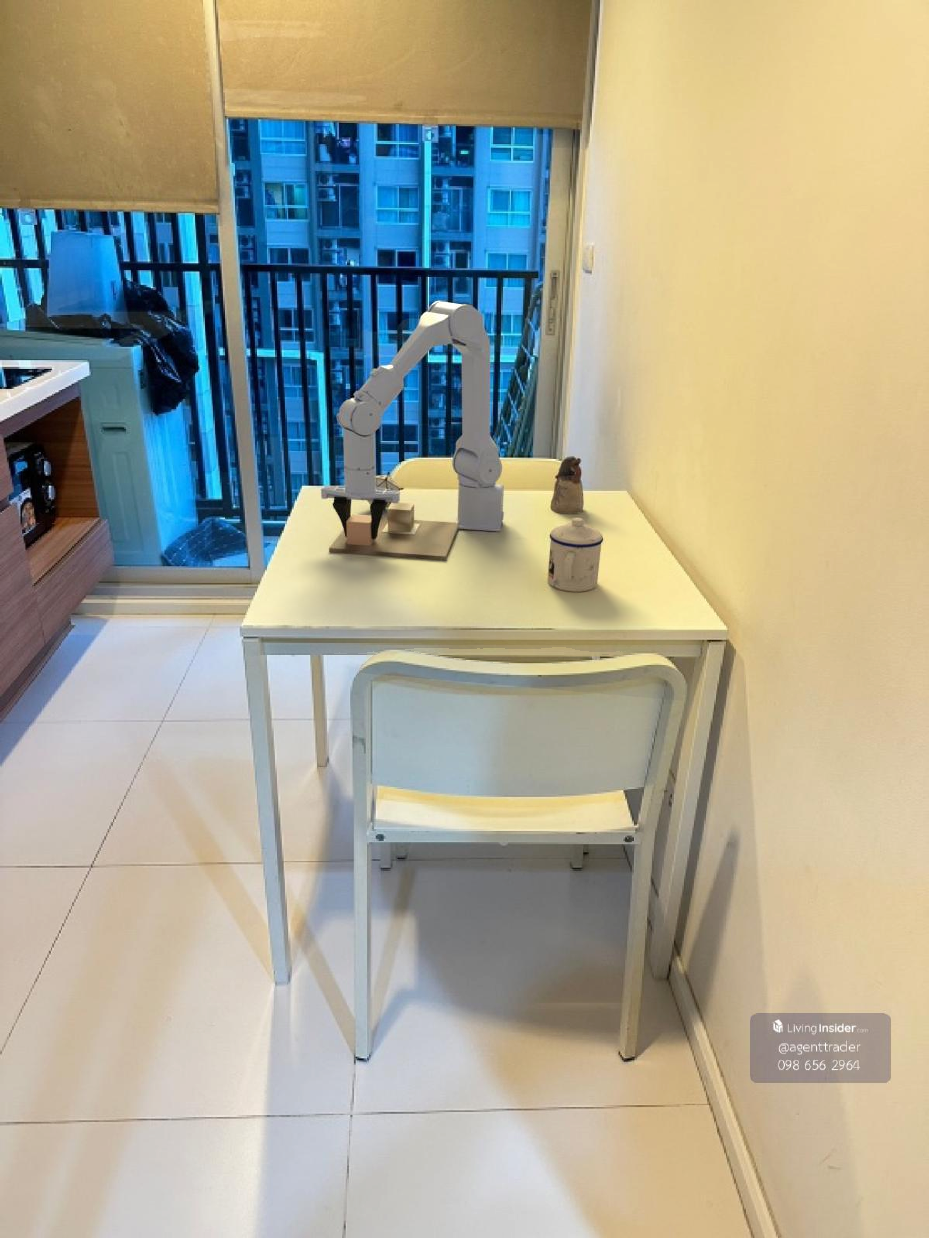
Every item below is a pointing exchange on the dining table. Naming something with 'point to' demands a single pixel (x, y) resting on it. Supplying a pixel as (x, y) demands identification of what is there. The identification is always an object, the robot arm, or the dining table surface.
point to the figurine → (568, 488)
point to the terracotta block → (359, 530)
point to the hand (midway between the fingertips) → (361, 536)
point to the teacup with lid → (574, 557)
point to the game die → (386, 485)
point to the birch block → (401, 517)
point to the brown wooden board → (405, 541)
